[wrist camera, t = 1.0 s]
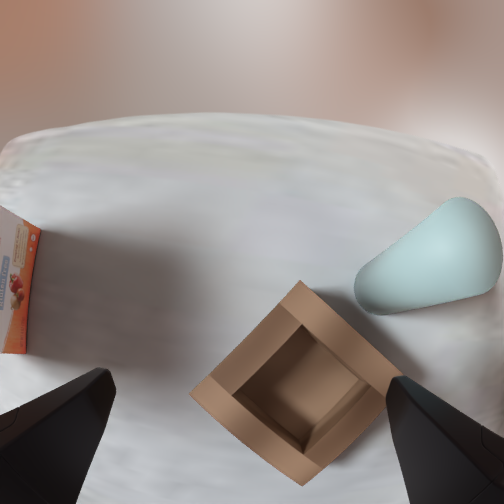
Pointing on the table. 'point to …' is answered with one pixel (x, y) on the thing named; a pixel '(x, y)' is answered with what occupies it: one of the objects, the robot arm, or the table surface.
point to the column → (434, 262)
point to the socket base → (298, 386)
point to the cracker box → (15, 279)
